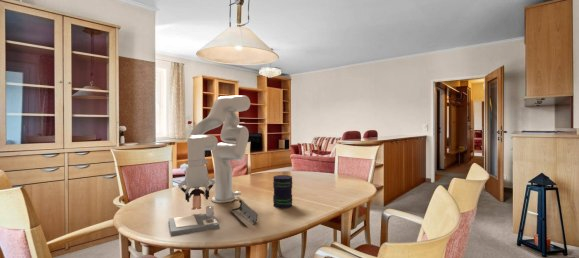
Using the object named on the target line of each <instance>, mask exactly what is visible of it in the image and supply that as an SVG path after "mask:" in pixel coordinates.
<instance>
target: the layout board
mask: <svg viewBox="0 0 579 258" xmlns="http://www.w3.org/2000/svg"><path fill="white" fill-rule="evenodd" d="M168 224H169V225H168V226H169V232H170V236H176V235H177V234H178V235H183V234H189V233H197V232H202V231H208V230H214V229H219V228H220V223H219V221H218V220H217V218H216V217H215V216H214V222H211V223H207V222H206V213H202V214H194V215H187V216H186V215H185V216H180V217H178V216H177V217H170V218H168ZM196 231H197V232H196ZM178 235H177V236H178Z"/></svg>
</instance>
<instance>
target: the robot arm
mask: <svg viewBox="0 0 579 258" xmlns="http://www.w3.org/2000/svg"><path fill="white" fill-rule="evenodd" d="M250 106H251V100H250V98H249V96H247V95H229V96H227V95H225V96H218V97H216V99H215V100H214V103H213V104H212V107H211V109H210V111H209V113H208V115H207V117H205V118H203V119H202V120H200V121H199V122H198V123H197V124H196V125H195V126H194V127H193V128H192V130H191V131H190V134H189V137H188V138H187V165H186V167H185V176H184V177H185V178H184V179H183V180H182V181H181V182H180V183H178V184H177V187H178V189H179V190H181V191H182V192H183V193H184V194H185V195H184V197H185V201H186V202H187V203H190V198H189V195H190V193H189V192H190V190H191V189H195V188H198V187H200V188H205V191H204V192H205V195H206V196H205V197H204V198H205V200H208V201H209V198H210V190H211V189H212V188H213V187H214V196H213V197H212V198H211V201H212V202H213V203H217V204H221V203H223V204H224V203H225V204H226V203H229V202H231V203H232V202H234V201H235V200H236V197H237V196H241V195H242V192H241V191H234V190H233V166H232V164H231V161H238V162H240V161H241V160H243V158H244V157H245V155H246V154H245V153H246V151H247V150H246V149H247V145H248V141H249V137H250V136H249V130H248V128H247V127H246V126H244V125H240V118H239V116H238V115H237V113H239V112H240V113H241V112H244V111H245V112H246V111H247V110H249V109H250V108H251V107H250ZM221 126H222V128H221V131H220V135H219V136H220V140H221V141H222V142H219V140H218V138H217V137H216V136H215V135H214V134H213V135H212V134H205V133H207V132H209V131H210V130H214V129H216V128H219V127H221ZM206 151H212V157H213V161H214V163H213V164H214V179H213V178H211V177H209V171H208V166H207V165H206V164H207V163H209V159H206V156H205V153H206ZM209 182H210V184H209ZM184 185H185V188H184V187H183V186H184Z"/></svg>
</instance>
